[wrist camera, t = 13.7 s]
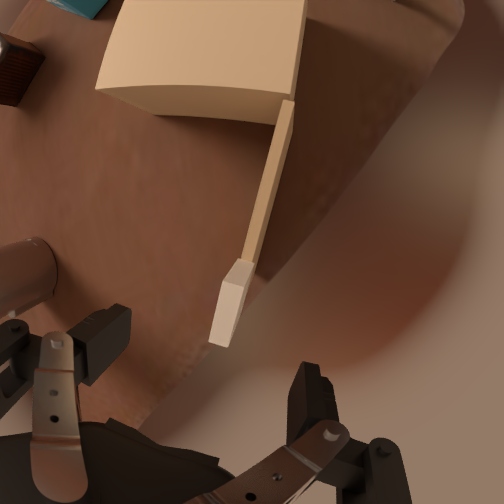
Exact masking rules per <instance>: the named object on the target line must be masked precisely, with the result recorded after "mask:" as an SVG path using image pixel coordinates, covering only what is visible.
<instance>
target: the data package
mask: <svg viewBox="0 0 504 504" xmlns="http://www.w3.org/2000/svg"><path fill="white" fill-rule="evenodd" d="M46 1H48V2H50V3H52V4H53V5H55V6H57V7H59V8H61V9H63V10H65V11H68V12H71V13H74V14H77V15H80V16H82V17H85V18H88V19H93V18H94V17H95V15H96V14H97V13H98V12H99V11H100V9H101V8H102V7H103V6H104V5H105V4H106V3H107V1H108V0H46Z"/></svg>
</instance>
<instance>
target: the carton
mask: <svg viewBox="0 0 504 504" xmlns="http://www.w3.org/2000/svg"><path fill="white" fill-rule="evenodd" d="M307 2H308V0H124V3H123V5H122V8H121V10H120V12H119V15H118V18H117V20H116V23H115V25H114V28H113V31H112V34H111V37H110V40H109V43H108V46H107V49H106V52H105V55H104V58H103V62H102V65H101V69H100V72H99V76H98V80H97V83H96V87H95V90H98V91H100V92H103V93H105V94H107V95H110V96H112V97H114V98H117V99H119V100H121V101H124V102H126V103H128V104H131V105H133V106H135V107H137V108H140V109H142V110H144V111H146V112H148V113H150V114H153V115H175V116H194V117H208V118H220V119H230V120H239V121H248V122H256V123H263V124H270V125H276V124H277V120H278V117H279V113H280V109H281V106H282V102H283V99H284V100H289V101H293V102H294V96H295V90H296V83H297V77H298V70H299V64H300V57H301V50H302V43H303V37H304V30H305V23H306V14H307Z"/></svg>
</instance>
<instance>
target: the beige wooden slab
mask: <svg viewBox="0 0 504 504" xmlns="http://www.w3.org/2000/svg"><path fill="white" fill-rule="evenodd" d="M294 106H295V102H293V101H289V100H284V99H283V102H282V106H281V109H280V113H279V117H278V120H277V124H276V128H275V131H274V135H273V139H272V143H271V146H270V150H269V154H268V158H267V161H266V165H265V169H264V173H263V176H262V180H261V184H260V188H259V192H258V195H257V199H256V203H255V207H254V211H253V214H252V218H251V222H250V226H249V230H248V234H247V237H246V241H245V245H244V249H243V253H242V257H241V259H239V258H238V259H237V261H236V262H235V264H234V265H233V267H232V268H231V269H230V271H229V272H228V274H227V275H226V277H225V278H224V280H223V282H222V286H221V290H220V294H219V298H218V303H217V307H216V311H215V315H214V320H213V324H212V328H211V333H210V337H209V342H211V343H214V344H217V345H221V346H224V347H228V346H229V343H230V340H231V338H232V336H233V333H234V330H235V328H236V325H237V322H238V320H239V317H240V314H241V311H242V308H243V304H244V300H245V297H246V293H247V291H248V288H249V286H250V283H251V281H252V278H253V276H254V273H255V269H256V266H257V262H258V258H259V255H260V251H261V247H262V244H263V240H264V236H265V233H266V229H267V225H268V222H269V218H270V214H271V211H272V207H273V203H274V200H275V196H276V192H277V189H278V185H279V181H280V177H281V174H282V170H283V166H284V162H285V159H286V155H287V151H288V147H289V144H290V140H291V136H292V132H293V119H294Z"/></svg>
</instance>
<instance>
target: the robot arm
mask: <svg viewBox="0 0 504 504" xmlns="http://www.w3.org/2000/svg"><path fill="white" fill-rule="evenodd" d="M56 282H57V266H56V262H55V258H54V256H53V253H52V251H51V249H50V248H49V246H48V245H47V244H46V243H45V242H44V241H43V240H42V239H40V238H36V237H34V238H30V239H25V240H22V241H19V242H16V243H12V244H9V245H6V246H2V247H0V319H1V318H2V317H4V316H6V315H8V316H10V317H12V318H15V317H17V316H18V315H20V314H22V313H24V312H25V311H27V310H29V309H31V308H32V307H34V306H36V305H38V304H40V303H41V302H43V301H45V300H47V299H49V298H51V297H52V296H53V289H54V287H55V285H56ZM131 315H132V311H131V309H130V308H127V307H125V306H122V305H120V304H117V303H116V304H114V305H113V306H111V307H110V308H109V309H107V310H105V309H102V310H99V311H96V312H94V313H92V314H91V315H89V316H88V318H85V319H84V320H83V321H81V322H80V323H78V324H77V325H76V326H74V327H73V328H72V329H70V330H69V331H67V332H66V333H64V332H59V331H54V332H49V333H47V334H45V335H44V336H43V337H40V336H37V335H34V334H30V332H29V326H28V324H27V323H26V322H25V321H23V320H19V319H11V320H8V321H6V322H4V323H2V324H1V325H0V366H1V365H2V364H4V363H5V362H6V361H7V360H8V361H9V364H10V365H9V366H8V367H7V368H6V369H5V370H4V371H2V372H1V373H0V419H1V418H2V417H3V416H4V415H5V414H6V413H7V412H8V411H9V410H10V408H11V407H12V406H13V405H14V404H15V403H16V402H17V401H18V400H19V399H20V398H21V397H22V396H23V395H24V394H25V393H26V392H27V391H28V390H29V389H30V388H31V387H32V386H33V406H32V432H28V433H21V434H15V435H8V436H0V504H292V503H294V502H295V501H296V500H297V499H298V498H299V497H300V496H301V495H302V494H303V493H304V492H306V491H307V490H308V489H309V488H310V487H311V486H312V485H313V484H314V483H315V482H316V481H317V480H318V481H321V482H323V483H326V484H329V485H332V486H335V487H336V501H337V502H336V503H337V504H412V500H411V495H410V491H409V486H408V482H407V477H406V473H405V469H404V465H403V461H402V457H401V453H400V450H399V448H398V446H397V445H396V444H395V443H394V442H392V441H391V440H389V439H386V438H376V439H373V440H372V441H371V442H370V443H369V444H366V443H363V442H360V441H357V440H355V439H352V438H351V437H350V434H349V431H348V429H347V428H346V427H345V426H344V425H343V424H341V423H340V422H339V416H338V411H337V405H336V401H335V395H334V389H333V385H332V384H331V382H330V381H329V380H328V378H327V377H322V376H321V374H320V367H319V365H318V364H313V363H309V362H304V361H303V362H302V363H301V364H300V367H299V369H298V372H297V374H296V376H295V379H294V381H293V383H292V386H291V388H290V391H289V395H288V408H287V409H288V410H287V439H286V445H284V446H282V447H280V448H279V449H277V450H276V451H275V452H273V453H272V454H270V455H269V456H268V457H266V458H265V459H263V460H262V461H260V462H259V463H257V464H256V465H255V466H253V467H252V468H250V469H248V470H247V471H245V472H244V473H242V474H241V475H239V476H238V477H235V476H234V475H232V474H231V473H230V472H228V471H227V470H225V469H223V468H221V467H220V466H218V462H219V458H217V457H213V456H209V455H206V454H203V453H199V452H196V451H193V450H188V449H180V448H173V447H166V446H161V445H159V444H156V443H155V442H153V441H152V440H151V439H149V438H147V437H146V436H144V435H143V434H141V433H140V432H138V431H137V430H136V429H134V428H132V427H129V426H127V425H125V424H123V423H121V422H118V421H116V420H114V419H112V418H109V419H108V421H107V422H106V424H104V423H99V422H82V416H81V408H80V400H79V390H78V385H79V384H80V383H81V382H82V383H84V384H86V385H88V386H89V387H90V386H91V385H92V384H93V383H94V382H95V381H96V380H97V379H98V377H99V376H100V375H101V374H102V373H103V372H104V371H105V370H106V369H107V368H108V367H109V366H110V364H111V363H112V362H113V361H114V360H115V359H116V358H117V357H118V356H119V355H120V354H121V353H122V352H123V351H124V350H125V348H126V347H127V345H128V343H129V340H130V329H131Z"/></svg>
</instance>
